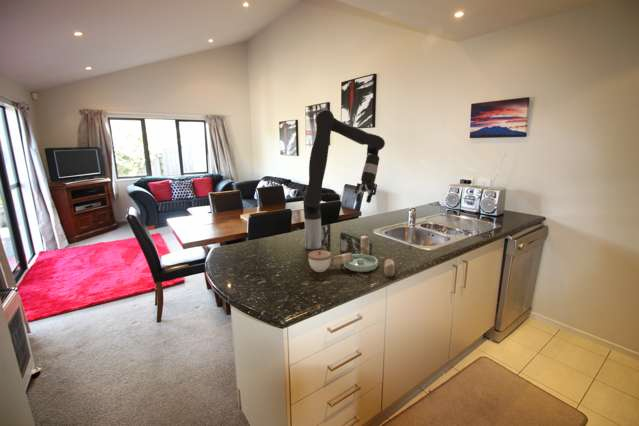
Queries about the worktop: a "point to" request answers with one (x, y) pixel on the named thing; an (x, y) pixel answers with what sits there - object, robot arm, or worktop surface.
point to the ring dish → (362, 263)
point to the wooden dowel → (389, 268)
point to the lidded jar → (319, 260)
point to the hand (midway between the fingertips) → (362, 202)
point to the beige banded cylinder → (341, 259)
